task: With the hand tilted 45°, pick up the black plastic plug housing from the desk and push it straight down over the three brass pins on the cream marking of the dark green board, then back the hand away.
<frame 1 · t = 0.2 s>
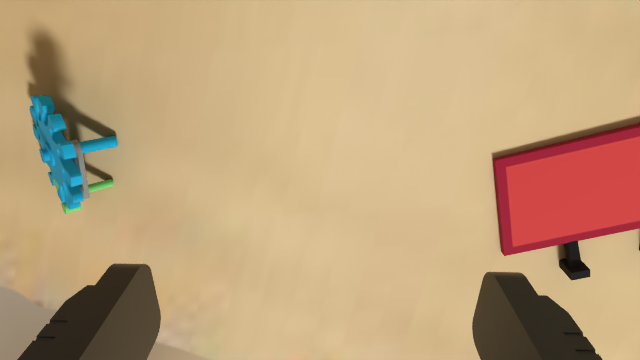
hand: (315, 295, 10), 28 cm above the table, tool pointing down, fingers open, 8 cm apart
gear: (82, 143, 38), on the table
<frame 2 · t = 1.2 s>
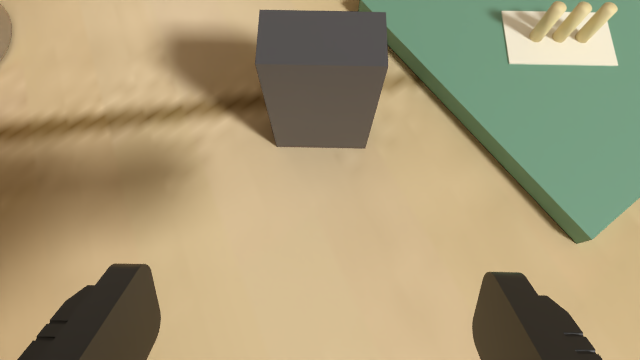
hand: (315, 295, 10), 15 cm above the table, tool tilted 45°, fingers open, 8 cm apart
plug housing: (321, 127, 27), on the table
header board: (546, 51, 29), on the table
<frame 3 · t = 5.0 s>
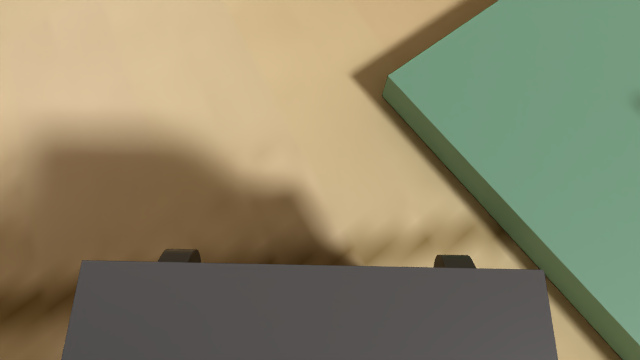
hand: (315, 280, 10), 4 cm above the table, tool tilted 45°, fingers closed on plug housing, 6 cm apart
plug housing: (317, 341, 14), on the table, touching gripper
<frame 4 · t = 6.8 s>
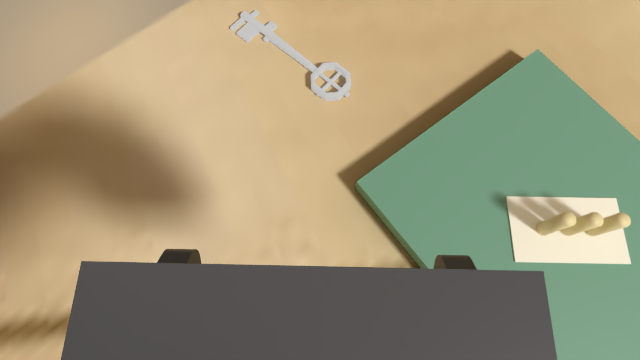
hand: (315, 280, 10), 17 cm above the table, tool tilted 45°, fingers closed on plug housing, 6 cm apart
plug housing: (316, 341, 14), point 13 cm above the table, touching gripper
key: (293, 58, 33), on the table
header board: (553, 233, 28), on the table
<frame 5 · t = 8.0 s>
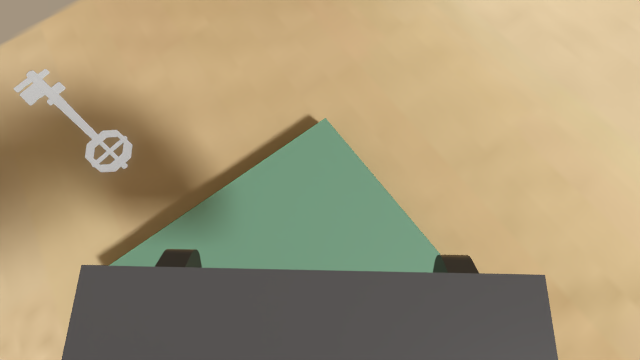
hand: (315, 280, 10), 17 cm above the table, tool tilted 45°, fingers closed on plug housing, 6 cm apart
plug housing: (317, 343, 14), point 13 cm above the table, touching gripper
key: (80, 122, 31), on the table
header board: (317, 324, 26), on the table
when the fingers open (6 cm above the table, at t = 10.9 s): plug housing stays where it is, resting on header board.
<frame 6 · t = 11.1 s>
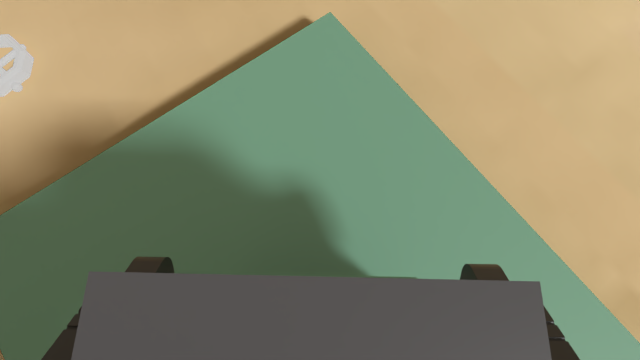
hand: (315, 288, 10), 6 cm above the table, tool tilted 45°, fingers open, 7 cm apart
plug housing: (317, 344, 14), point 2 cm above the table, touching header board
header board: (316, 338, 15), on the table
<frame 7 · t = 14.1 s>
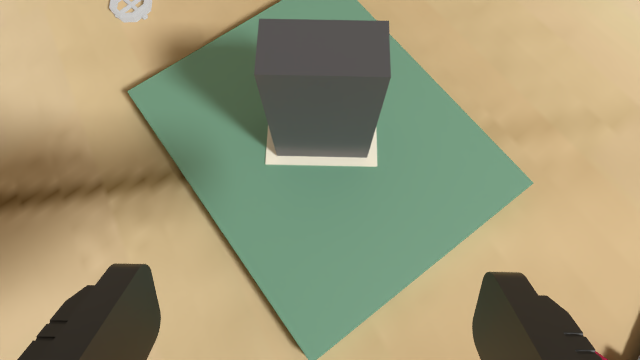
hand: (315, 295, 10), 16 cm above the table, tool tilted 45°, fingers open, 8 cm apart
plug housing: (322, 136, 27), point 2 cm above the table, touching header board
header board: (321, 144, 28), on the table
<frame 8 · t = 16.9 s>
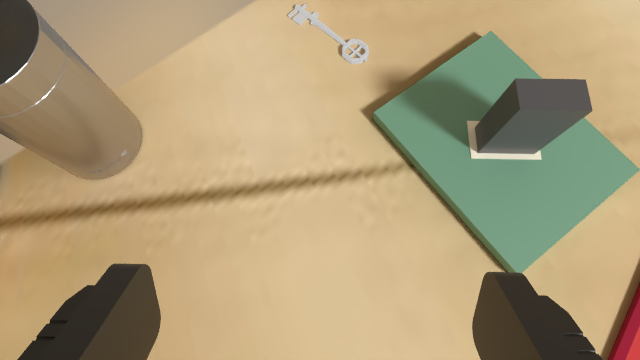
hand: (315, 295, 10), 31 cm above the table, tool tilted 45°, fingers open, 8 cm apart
plug housing: (504, 140, 43), point 2 cm above the table, touching header board
key: (329, 36, 50), on the table
header board: (497, 145, 44), on the table
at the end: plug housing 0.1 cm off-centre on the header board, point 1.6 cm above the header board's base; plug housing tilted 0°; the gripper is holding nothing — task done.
